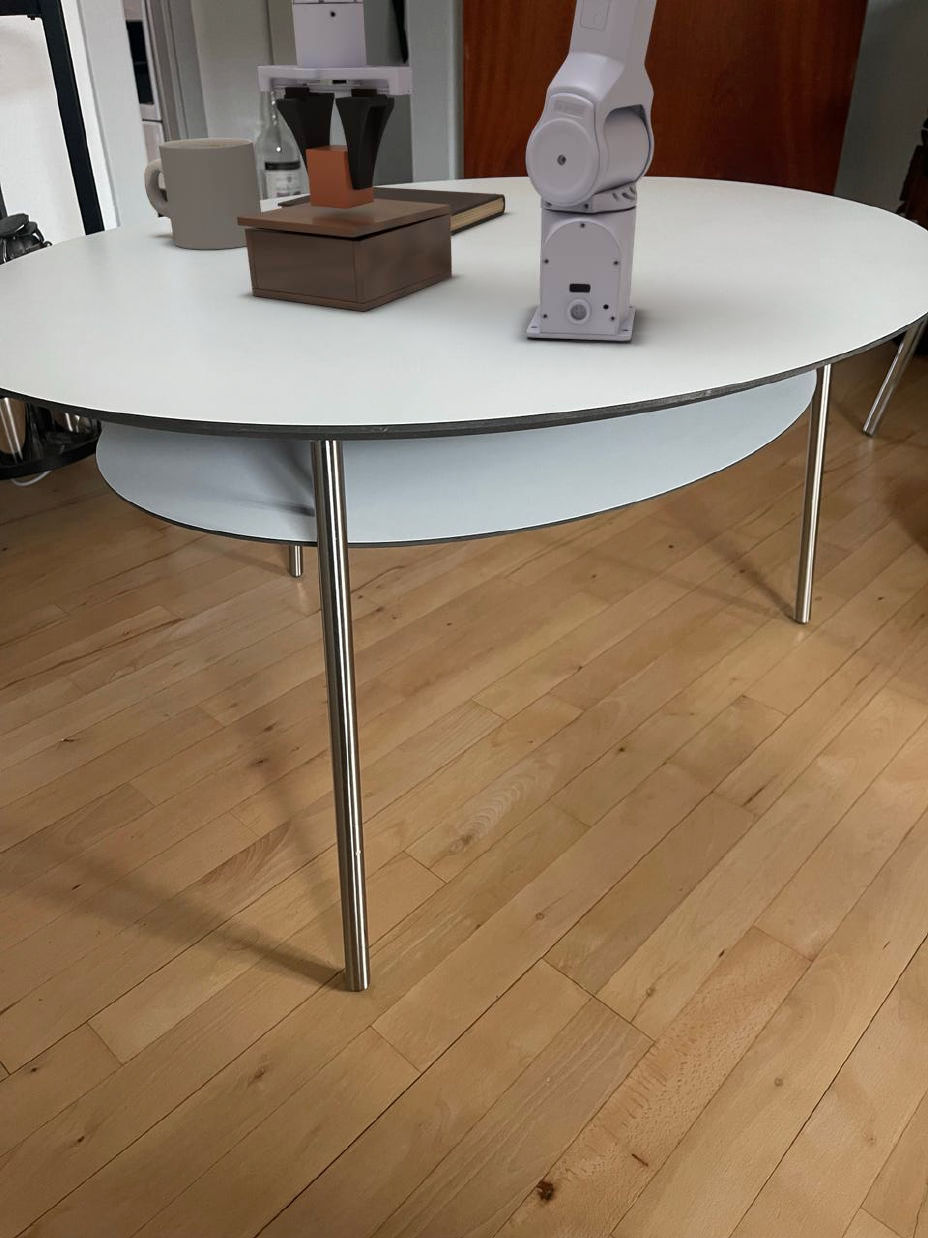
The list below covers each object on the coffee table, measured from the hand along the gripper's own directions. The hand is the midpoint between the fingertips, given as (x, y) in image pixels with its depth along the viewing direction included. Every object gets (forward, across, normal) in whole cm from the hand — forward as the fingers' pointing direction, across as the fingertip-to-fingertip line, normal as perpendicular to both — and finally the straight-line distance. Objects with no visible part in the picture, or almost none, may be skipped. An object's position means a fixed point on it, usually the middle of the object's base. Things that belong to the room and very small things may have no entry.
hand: (341, 186), depth 87 cm
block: (+1, 0, 0) cm, 1 cm away
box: (+9, 0, +1) cm, 9 cm away
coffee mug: (+9, -28, +12) cm, 32 cm away
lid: (+3, 0, +1) cm, 3 cm away
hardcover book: (+9, -17, +32) cm, 37 cm away
